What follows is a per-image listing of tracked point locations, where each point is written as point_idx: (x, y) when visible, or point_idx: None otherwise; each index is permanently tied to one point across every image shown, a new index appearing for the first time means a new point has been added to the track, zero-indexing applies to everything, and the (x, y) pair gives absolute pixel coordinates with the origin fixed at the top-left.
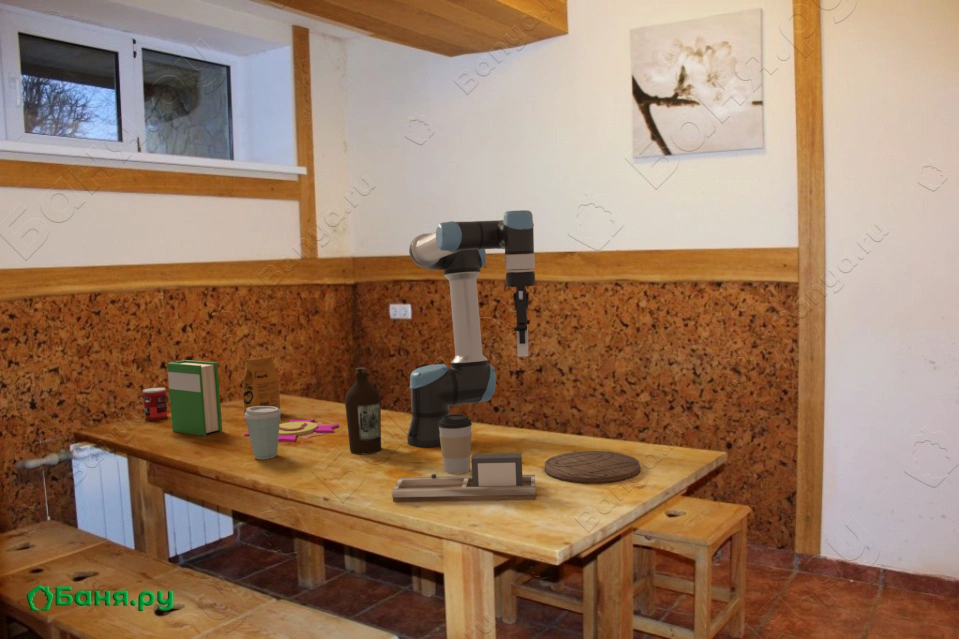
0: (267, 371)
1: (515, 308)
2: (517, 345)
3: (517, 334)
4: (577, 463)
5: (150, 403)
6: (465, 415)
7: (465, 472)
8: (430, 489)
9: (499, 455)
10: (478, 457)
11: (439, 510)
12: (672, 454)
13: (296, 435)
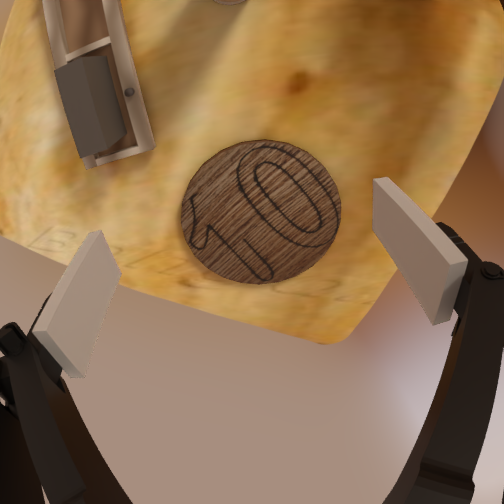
0: None
1: (71, 499)
2: (68, 269)
3: (43, 318)
4: (261, 199)
5: None
6: None
7: (215, 1)
8: (49, 16)
9: (83, 112)
10: (63, 79)
11: (26, 52)
12: (339, 306)
13: None
